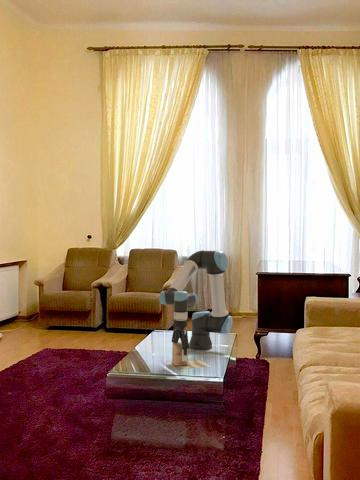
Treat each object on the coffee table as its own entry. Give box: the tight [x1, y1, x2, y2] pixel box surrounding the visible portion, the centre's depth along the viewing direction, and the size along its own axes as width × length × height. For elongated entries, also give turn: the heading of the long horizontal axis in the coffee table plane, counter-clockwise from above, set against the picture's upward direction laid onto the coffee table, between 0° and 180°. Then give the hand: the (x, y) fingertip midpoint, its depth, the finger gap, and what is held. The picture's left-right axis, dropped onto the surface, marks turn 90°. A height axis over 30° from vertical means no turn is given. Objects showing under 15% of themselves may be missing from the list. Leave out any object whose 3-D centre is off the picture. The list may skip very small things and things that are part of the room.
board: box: [166, 359, 211, 370], centre depth 303 cm, size 20×16×1 cm
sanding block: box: [171, 341, 189, 367], centre depth 301 cm, size 7×5×12 cm
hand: (179, 358), depth 301 cm, fingers open, 12 cm apart
